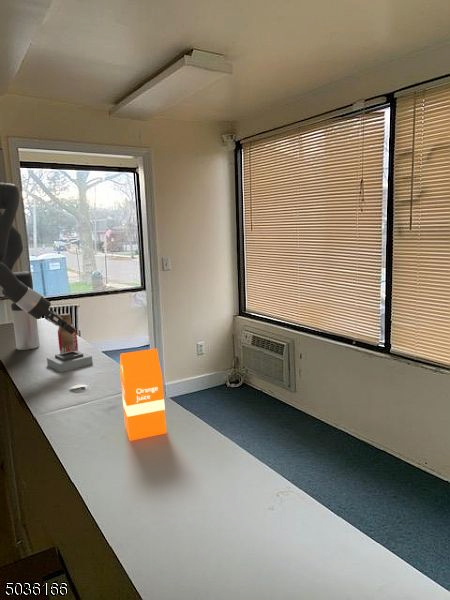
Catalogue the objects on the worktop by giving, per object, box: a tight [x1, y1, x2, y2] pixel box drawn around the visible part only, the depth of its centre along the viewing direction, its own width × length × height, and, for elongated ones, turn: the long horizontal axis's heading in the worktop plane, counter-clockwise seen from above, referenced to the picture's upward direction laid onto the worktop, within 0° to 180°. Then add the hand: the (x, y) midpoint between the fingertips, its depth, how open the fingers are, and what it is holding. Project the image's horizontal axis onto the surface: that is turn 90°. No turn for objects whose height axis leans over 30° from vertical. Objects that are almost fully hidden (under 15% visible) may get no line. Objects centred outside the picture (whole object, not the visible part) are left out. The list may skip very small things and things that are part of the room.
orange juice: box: [119, 348, 167, 442], centre depth 103 cm, size 8×9×20 cm
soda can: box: [57, 323, 79, 354], centre depth 173 cm, size 7×7×12 cm
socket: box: [46, 350, 93, 373], centre depth 160 cm, size 12×12×4 cm
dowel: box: [58, 313, 74, 348], centre depth 158 cm, size 4×4×12 cm
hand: (71, 330), depth 159 cm, fingers closed on dowel, 4 cm apart
